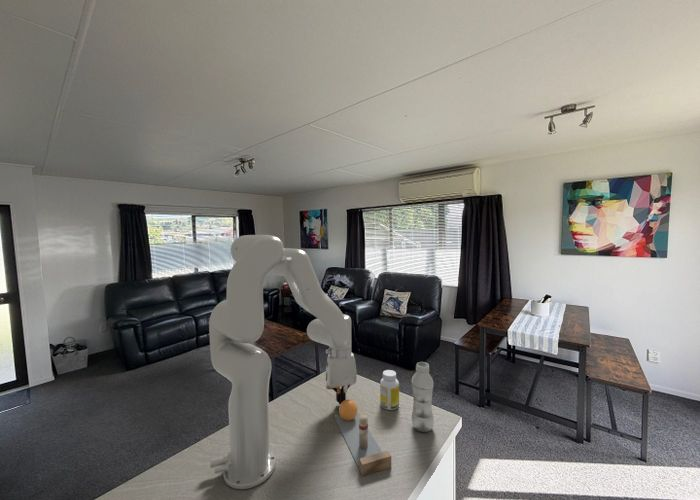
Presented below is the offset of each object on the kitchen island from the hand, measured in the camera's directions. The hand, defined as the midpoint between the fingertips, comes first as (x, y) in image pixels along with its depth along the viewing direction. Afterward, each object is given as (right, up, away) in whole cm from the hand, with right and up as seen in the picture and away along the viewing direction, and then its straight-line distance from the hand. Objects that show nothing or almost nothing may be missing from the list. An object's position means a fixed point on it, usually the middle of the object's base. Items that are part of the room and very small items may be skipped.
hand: (340, 402), depth 99 cm
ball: (+3, +1, -7) cm, 8 cm away
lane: (+5, -2, -15) cm, 16 cm away
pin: (+7, -2, -19) cm, 21 cm away
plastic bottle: (+25, -2, -12) cm, 28 cm away
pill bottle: (+17, -1, 0) cm, 17 cm away
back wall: (+10, -3, -27) cm, 29 cm away
